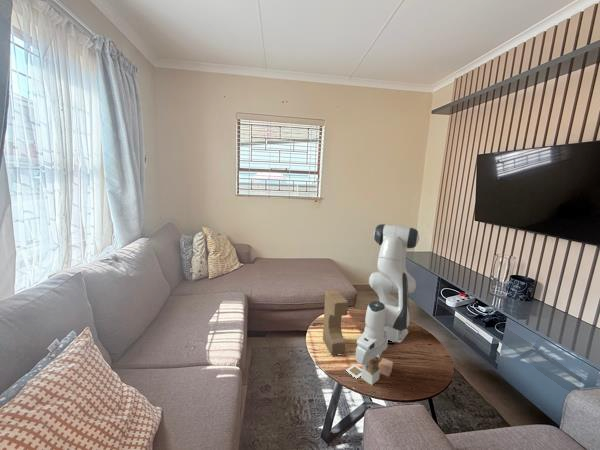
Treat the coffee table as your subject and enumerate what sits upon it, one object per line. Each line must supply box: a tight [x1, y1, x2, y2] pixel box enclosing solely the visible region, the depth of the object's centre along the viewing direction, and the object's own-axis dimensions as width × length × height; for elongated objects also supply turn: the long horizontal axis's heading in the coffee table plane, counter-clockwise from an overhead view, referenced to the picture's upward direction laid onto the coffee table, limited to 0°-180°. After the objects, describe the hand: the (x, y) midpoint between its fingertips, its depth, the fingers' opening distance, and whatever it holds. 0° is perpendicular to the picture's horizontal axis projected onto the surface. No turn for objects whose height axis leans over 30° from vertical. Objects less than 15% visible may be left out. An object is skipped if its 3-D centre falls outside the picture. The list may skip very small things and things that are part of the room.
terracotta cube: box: [378, 357, 394, 377], centre depth 133 cm, size 5×5×5 cm
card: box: [345, 364, 362, 380], centre depth 132 cm, size 7×7×1 cm
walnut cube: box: [366, 357, 380, 374], centre depth 127 cm, size 5×5×5 cm
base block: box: [360, 367, 381, 386], centre depth 128 cm, size 6×6×5 cm
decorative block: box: [322, 289, 349, 356], centre depth 148 cm, size 15×8×30 cm, turn 14°
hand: (371, 364), depth 127 cm, fingers open, 8 cm apart
